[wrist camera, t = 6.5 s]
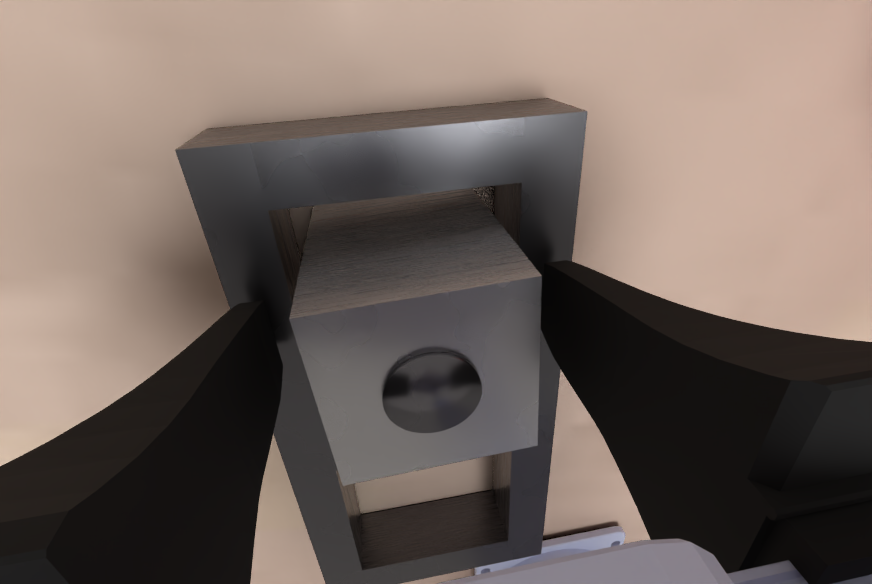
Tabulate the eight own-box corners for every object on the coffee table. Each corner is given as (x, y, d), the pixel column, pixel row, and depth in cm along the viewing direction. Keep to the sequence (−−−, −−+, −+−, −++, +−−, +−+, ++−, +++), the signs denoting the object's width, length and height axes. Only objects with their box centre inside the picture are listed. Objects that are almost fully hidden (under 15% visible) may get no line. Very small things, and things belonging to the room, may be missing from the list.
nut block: (475, 309, 16) (539, 450, 10) (345, 332, 15) (342, 491, 10) (467, 181, 13) (544, 279, 8) (313, 204, 13) (287, 324, 8)
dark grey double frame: (522, 504, 21) (541, 554, 19) (332, 541, 20) (330, 597, 18) (548, 98, 12) (587, 111, 10) (206, 128, 11) (175, 150, 9)
